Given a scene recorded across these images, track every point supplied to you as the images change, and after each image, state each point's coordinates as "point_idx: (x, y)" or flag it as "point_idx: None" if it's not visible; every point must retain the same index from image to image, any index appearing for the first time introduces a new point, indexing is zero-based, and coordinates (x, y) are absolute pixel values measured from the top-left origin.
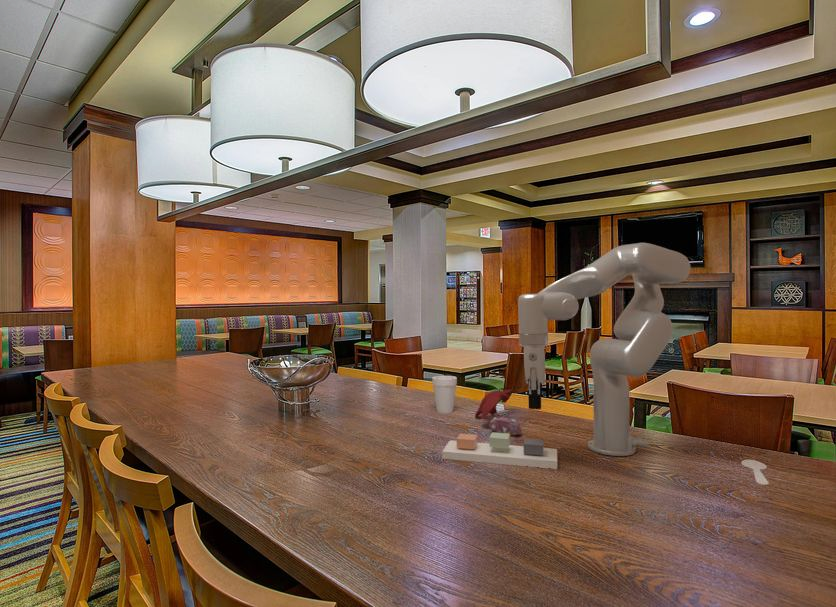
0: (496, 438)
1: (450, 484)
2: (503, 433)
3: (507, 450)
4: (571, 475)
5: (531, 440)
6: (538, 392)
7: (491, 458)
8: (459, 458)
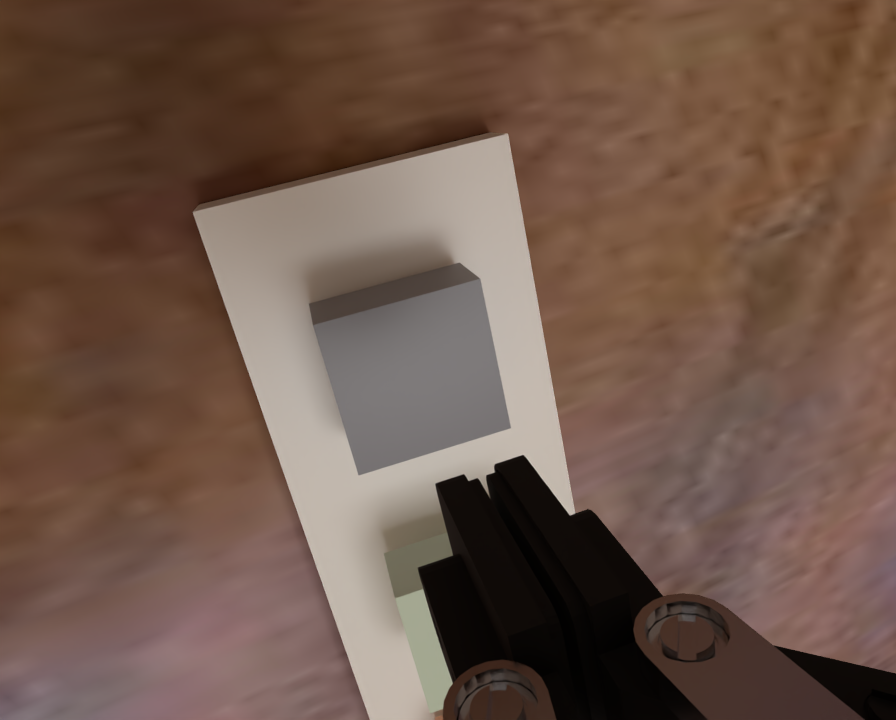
0: None
1: (886, 551)
2: (416, 637)
3: (436, 521)
4: (560, 8)
5: (385, 409)
6: (739, 636)
7: None
8: None
